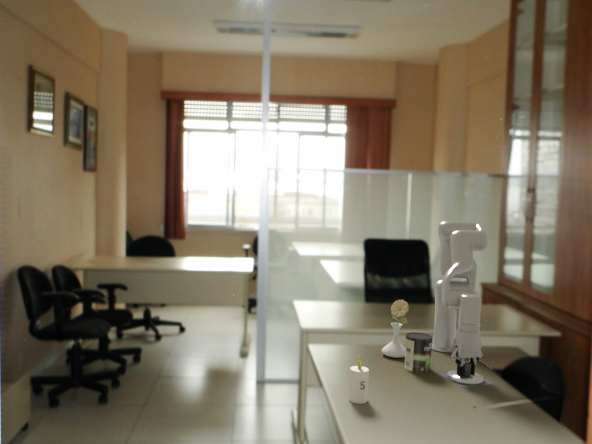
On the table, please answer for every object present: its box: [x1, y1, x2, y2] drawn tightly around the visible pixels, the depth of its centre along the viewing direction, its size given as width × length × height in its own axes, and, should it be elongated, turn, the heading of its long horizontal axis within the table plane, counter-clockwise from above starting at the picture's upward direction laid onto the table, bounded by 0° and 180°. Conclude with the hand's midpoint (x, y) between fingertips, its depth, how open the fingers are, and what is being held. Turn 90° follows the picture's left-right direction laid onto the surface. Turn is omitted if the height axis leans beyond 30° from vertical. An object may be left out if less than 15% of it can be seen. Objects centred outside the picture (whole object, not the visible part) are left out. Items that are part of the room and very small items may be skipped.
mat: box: [438, 372, 494, 389], centre depth 197 cm, size 14×14×1 cm
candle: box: [348, 354, 370, 404], centre depth 175 cm, size 6×6×15 cm
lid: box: [447, 360, 485, 386], centre depth 197 cm, size 13×13×6 cm
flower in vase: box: [381, 299, 410, 359], centre depth 224 cm, size 13×11×25 cm
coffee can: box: [403, 331, 433, 374], centre depth 207 cm, size 10×10×14 cm
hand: (465, 374), depth 197 cm, fingers open, 4 cm apart
